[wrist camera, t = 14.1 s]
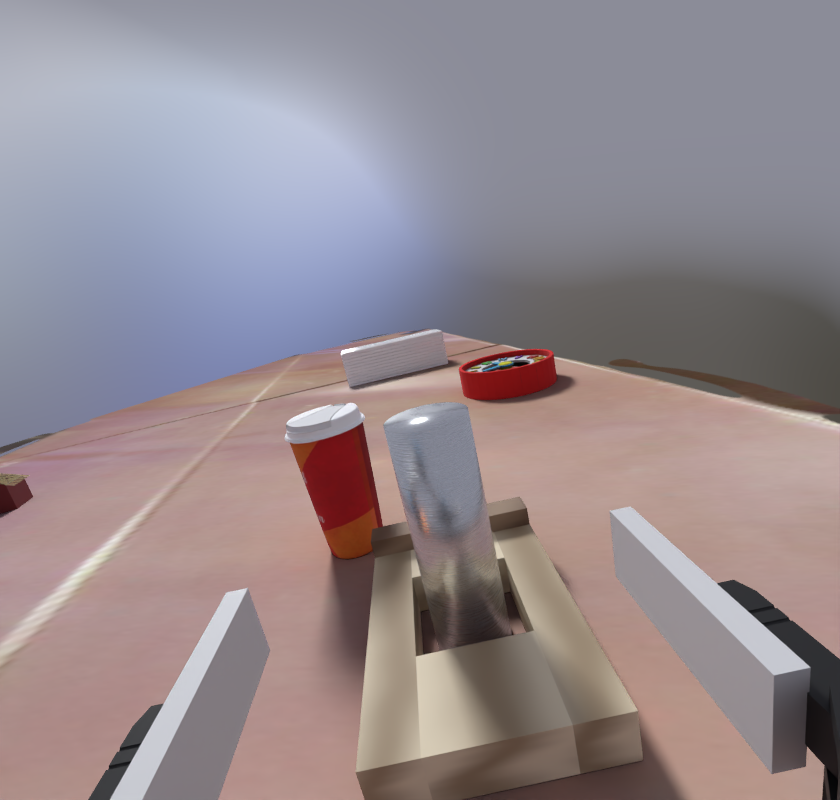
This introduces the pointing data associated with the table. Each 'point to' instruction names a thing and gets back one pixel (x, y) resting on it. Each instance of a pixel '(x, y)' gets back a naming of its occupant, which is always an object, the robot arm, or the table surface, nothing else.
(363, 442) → the paper cup
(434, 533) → the brushed metal cylinder
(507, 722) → the frame
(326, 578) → the table surface
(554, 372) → the toy clock
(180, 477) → the table surface
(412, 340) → the stack of papers
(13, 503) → the toy houses
